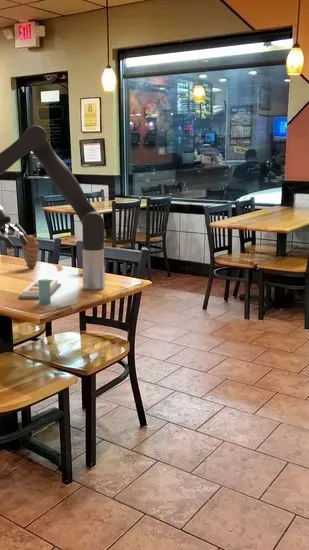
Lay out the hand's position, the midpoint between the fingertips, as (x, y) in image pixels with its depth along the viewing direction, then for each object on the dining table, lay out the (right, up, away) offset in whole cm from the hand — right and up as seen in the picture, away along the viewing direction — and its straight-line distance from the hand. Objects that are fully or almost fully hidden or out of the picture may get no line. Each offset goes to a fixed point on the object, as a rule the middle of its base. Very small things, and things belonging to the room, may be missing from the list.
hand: (19, 245), depth 209 cm
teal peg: (+10, -22, -1) cm, 25 cm away
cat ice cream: (-11, -8, +67) cm, 68 cm away
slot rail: (+5, -19, +17) cm, 26 cm away
